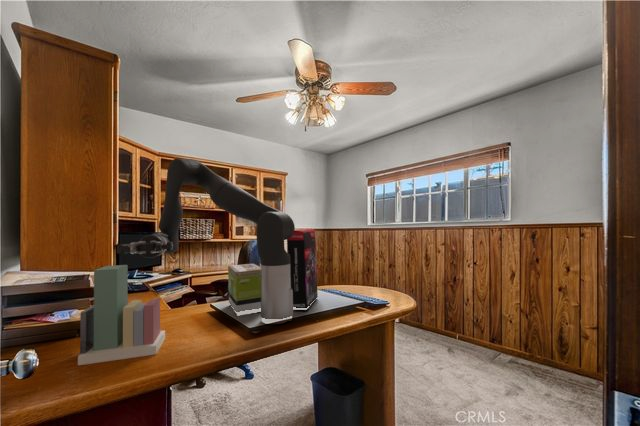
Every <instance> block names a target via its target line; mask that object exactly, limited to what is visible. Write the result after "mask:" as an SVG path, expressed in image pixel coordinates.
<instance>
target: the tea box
mask: <svg viewBox="0 0 640 426" xmlns="http://www.w3.org/2000/svg"><path fill="white" fill-rule="evenodd" d="M227 274H228V275H227V276H228V280H227V281H228V304H229V303H230V304H231V306H232V307H233V308H234V310H235V311H236V312H240V311H245V310H252V309H259V308H261V272H260V265H257V264H255V263H245V264H243V263H242V264H235V265H228V266H227Z"/></svg>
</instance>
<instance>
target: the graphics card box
mask: <svg viewBox="0 0 640 426" xmlns="http://www.w3.org/2000/svg"><path fill="white" fill-rule="evenodd" d="M286 245H287V248H286V249H287V250H286V252H287V253H289V254H290V258H291V288H292V290H293V307H296V308H307V307H308V306H310V304H311V303H312V302H313V301H314V300H315V299H316V298H317V297H319V296H318V274H317V273H318V272H317V248H316V245H317V243H316V229H312V228H311V229H309V228H307V229H304V228H303V229H301V228H300V229H295V230H294V233H293V235H292V236H291V237H290V238H288V239H286ZM317 299H318V298H317ZM317 299H316V300H317ZM316 300H315V301H316Z"/></svg>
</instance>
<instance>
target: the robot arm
mask: <svg viewBox="0 0 640 426" xmlns="http://www.w3.org/2000/svg"><path fill="white" fill-rule="evenodd" d="M184 185H185V186H186V185H187V186H188V185H195V186H198V187H199V188H200V187H201V188H202V189H204V190H206V192H208V195H209V198H210V199H211V202H213V204H215V205H216V206H217V207H218V208H220V209H222V210H223V211H224V212H227V213H229V214H230V215H233V216H236V217H238V218H240V219H244V220H247V221H250V222H252V223H254V224H256V228H255V232H256V235H255V237H256V248H257V255H258V257H259V262H260V265H259V267H260V272H261V313H260V318H261V317H262V318H265V319H283V318H287V317H290V316H293V317H294V311H293V290H292V288H291V258H290V254H289V253H288V252H287V250H286V249H285V241H287V239H288V238H290V237H291V236H292V235H293V233H294V230H296V229H295V228H296V227H295V222H294V220H293V219H292V217H291V216H290V215H289V214H288V213H286V212H284V211H281V210H279V209H276V208H274V207H272V206H270V205H268V204H266V203H264V202H262V201H261V200H259V199H258V198H257V197H255V196H254V195H252V194H251V193H249V192H247V191H246V190H244V189H243V188H241V187H239V186H238V185H236V184H235V183H233V182H231V181H229V180H227V179H226V178H224V177H222V176H220V175H218V174H217V173H215V172H214V171H212V170H211V169H210V168H209V167H207V166H206V165H205V164H203V162H200V161H199V160H197V159H192V158H191V159H190V158H174V159H173V160H171V161H170V163H169V164H168V169H167V172H166V184H165V192H164V193H165V194H164V203H163V208H162V212H161V216H160V219H159V223H158V229H159V231H160V232H158V231H156V232H155V231H154V232H153V233H152V234H148V235H144V236H143V237H142V238H140V240H138V242H137V241H135V242H130V243H124V244H117V247H116V248H117V249H116V250H117V251H116V253H117V254H119V255H121V254H122V255H125V254H131V255H136V254H139V255H140V256H142V257H143V258H146V259H147V258H148V259H154V258H156V257H159V256H161V255H163V254H167V255H172V254H174V253H175V252H177V251H178V248H179V243H180V242H179V241H180V239H179V229H180V225H181V222H182V220H183V214H184V213H183V212H184V209H183V207H182V203H181V200H180V191H181V189H182V187H183V186H184Z"/></svg>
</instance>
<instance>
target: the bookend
mask: <svg viewBox="0 0 640 426" xmlns="http://www.w3.org/2000/svg"><path fill="white" fill-rule="evenodd" d="M79 314H80V319H79V320H80V323H79V324H80V328H79V329H80V331H79V333H80V335H79V336H80V337H79V339H80V340H79V341H80V343H79V345H80V347H79V350H80V353H79V355H80V354H85V353H87V352H88V351H89V350H90V349H91V348H92V347H93V346H94V304H92V305H91V306H89V307H87V308H85V309H83V310H82V311H81V312H80V313H79Z"/></svg>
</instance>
